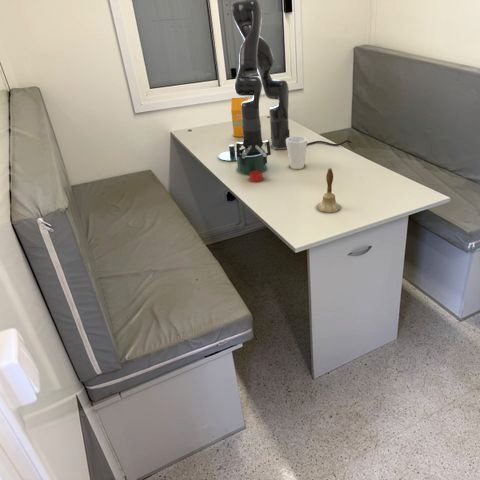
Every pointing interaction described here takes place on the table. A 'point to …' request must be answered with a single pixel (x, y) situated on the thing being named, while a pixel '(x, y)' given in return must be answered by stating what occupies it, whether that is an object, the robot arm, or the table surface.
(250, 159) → the tin
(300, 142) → the foam cup
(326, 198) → the hand bell
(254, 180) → the cylinder
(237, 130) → the orange juice
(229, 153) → the lid
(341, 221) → the table surface
